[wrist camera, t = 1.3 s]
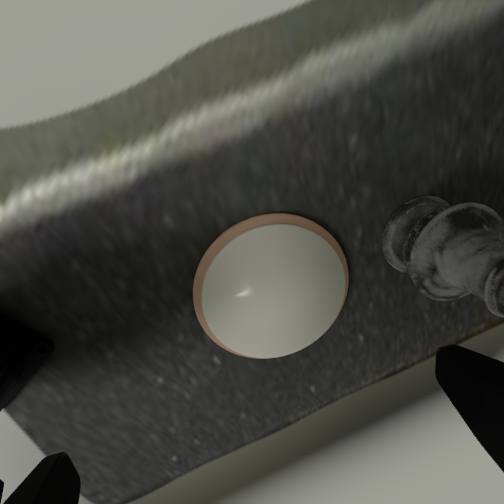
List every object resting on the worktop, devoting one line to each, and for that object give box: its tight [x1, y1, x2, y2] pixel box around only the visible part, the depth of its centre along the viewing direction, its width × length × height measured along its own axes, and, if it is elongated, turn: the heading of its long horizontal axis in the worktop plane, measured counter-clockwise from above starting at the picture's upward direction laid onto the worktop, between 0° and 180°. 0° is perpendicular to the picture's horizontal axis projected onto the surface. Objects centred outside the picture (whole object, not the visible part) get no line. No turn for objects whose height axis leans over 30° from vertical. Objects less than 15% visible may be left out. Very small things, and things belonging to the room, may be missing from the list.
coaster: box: [193, 213, 349, 359], centre depth 21 cm, size 10×10×1 cm
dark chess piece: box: [382, 195, 504, 318], centre depth 17 cm, size 6×6×12 cm
